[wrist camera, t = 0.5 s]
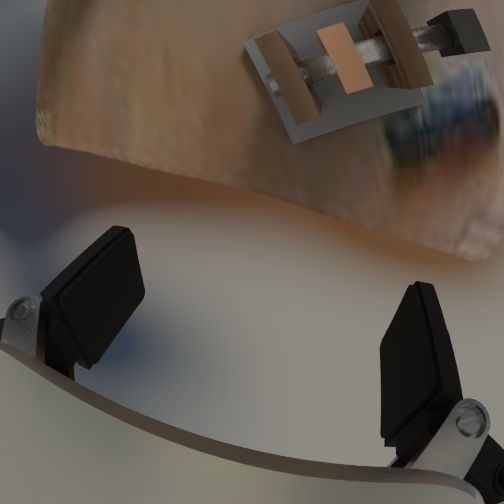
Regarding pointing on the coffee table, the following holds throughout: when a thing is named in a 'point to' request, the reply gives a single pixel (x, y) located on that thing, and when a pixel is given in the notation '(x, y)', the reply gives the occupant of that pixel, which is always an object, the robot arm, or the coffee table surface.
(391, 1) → the stand
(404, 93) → the base board
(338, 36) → the collar
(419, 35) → the shaft
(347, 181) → the coffee table surface
